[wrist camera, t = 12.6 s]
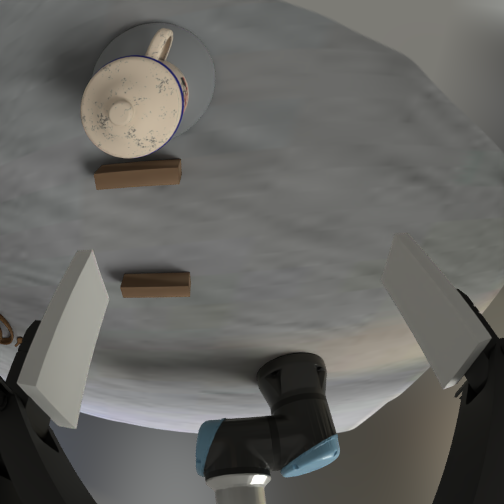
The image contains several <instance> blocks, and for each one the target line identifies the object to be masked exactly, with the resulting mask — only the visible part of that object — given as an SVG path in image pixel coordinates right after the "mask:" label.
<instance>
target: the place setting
mask: <svg viewBox="0 0 504 504" xmlns="http://www.w3.org/2000/svg"><path fill="white" fill-rule="evenodd" d="M0 320H1V321H2V322H3V323H4V324H5V326H6V327H7V328H8V330H9V332H10V334H11V336H10V337H9V338H2V331H1V329H0V344H4V345H8V344H10V343H11V342H12V340H13V331H12V328H11V326H10V325H9V323H8V322H7V321H6V319H5V318H4V317H3V316H2V315H1V314H0ZM22 339H23V338H21V337H20V338H18V339H17V341H18V343H17V344H16V345H15V347H17V346H18V345H19V344H21V343H22Z"/></svg>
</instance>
